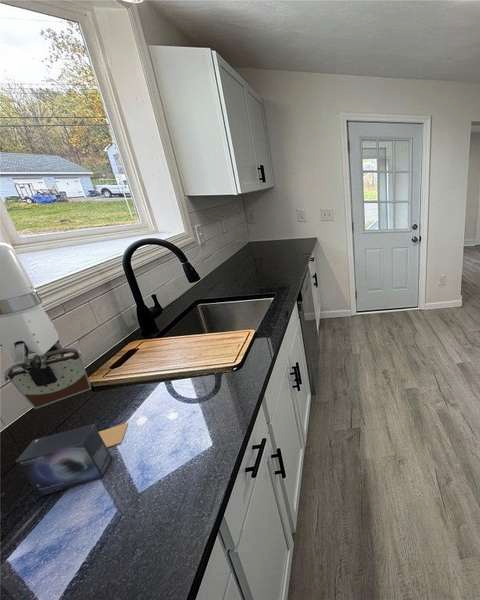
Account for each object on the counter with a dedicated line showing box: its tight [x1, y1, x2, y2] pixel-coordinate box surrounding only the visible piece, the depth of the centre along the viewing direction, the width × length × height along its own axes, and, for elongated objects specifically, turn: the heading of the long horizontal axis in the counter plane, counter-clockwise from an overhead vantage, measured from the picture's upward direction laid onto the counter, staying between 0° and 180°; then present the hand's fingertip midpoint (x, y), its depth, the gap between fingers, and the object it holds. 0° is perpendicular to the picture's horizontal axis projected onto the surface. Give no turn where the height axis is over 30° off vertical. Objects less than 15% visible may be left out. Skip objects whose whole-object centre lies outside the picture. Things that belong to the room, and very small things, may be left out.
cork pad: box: [98, 422, 129, 449], centre depth 78 cm, size 13×8×1 cm, turn 119°
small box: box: [15, 423, 114, 498], centre depth 67 cm, size 11×6×10 cm, turn 114°
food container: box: [3, 347, 92, 410], centre depth 72 cm, size 12×6×10 cm, turn 133°
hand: (54, 374), depth 72 cm, fingers closed on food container, 6 cm apart
